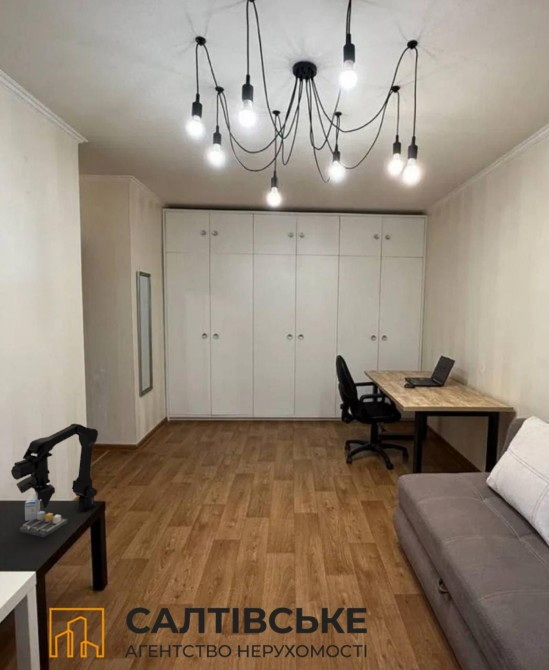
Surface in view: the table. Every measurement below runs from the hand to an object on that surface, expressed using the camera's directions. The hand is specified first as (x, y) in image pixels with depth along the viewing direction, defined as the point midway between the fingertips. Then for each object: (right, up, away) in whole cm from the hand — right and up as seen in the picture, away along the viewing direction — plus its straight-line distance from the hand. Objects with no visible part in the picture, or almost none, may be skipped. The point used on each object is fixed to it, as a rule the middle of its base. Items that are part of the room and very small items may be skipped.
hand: (42, 503), depth 158 cm
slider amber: (-2, -11, +8) cm, 13 cm away
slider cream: (+3, -11, +6) cm, 13 cm away
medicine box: (-13, -13, +14) cm, 23 cm away
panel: (-2, -13, +5) cm, 14 cm away
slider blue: (-6, -11, +9) cm, 15 cm away
